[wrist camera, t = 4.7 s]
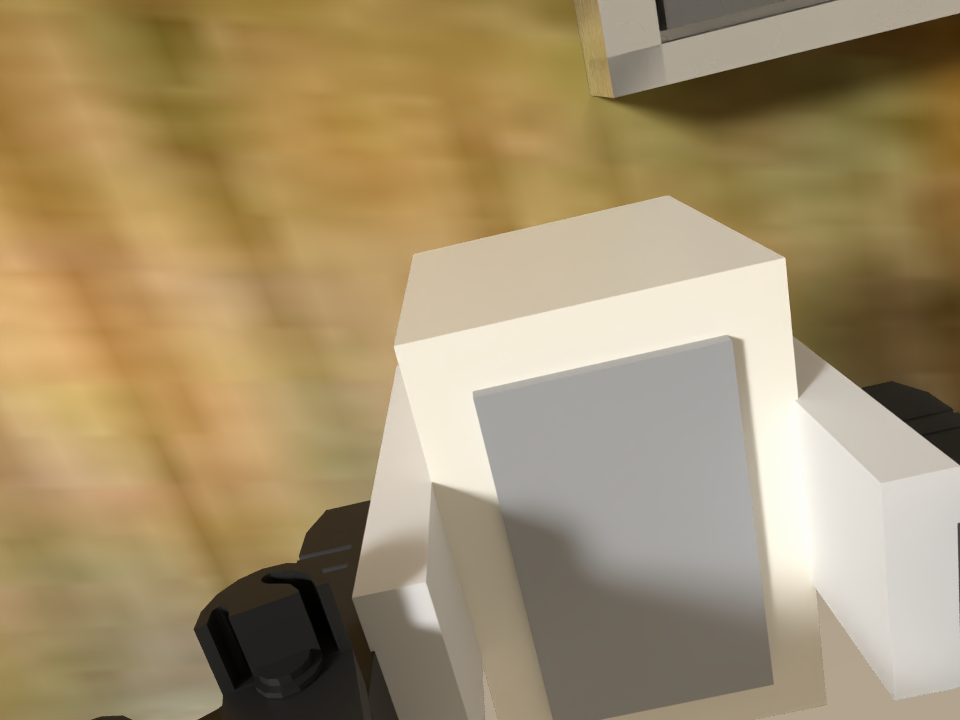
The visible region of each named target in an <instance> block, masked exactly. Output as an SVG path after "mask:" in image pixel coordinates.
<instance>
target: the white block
mask: <svg viewBox="0 0 960 720" xmlns="http://www.w3.org/2000/svg"><path fill="white" fill-rule="evenodd" d="M394 349H395V353H396V356H397V360H398V363H399V367H400V370H401V374H402V378H403V381H404V385H405V388H406V392H407V396H408V399H409V403H410V406H411V410H412V414H413V417H414V421H415V424H416V428H417V431H418V435H419V439H420V442H421V446H422V449H423V453H424V457H425V460H426V464H427V467H428V471H429V474H430V478H431V482H432V485H433V489H434V492H435V496H436V499H437V503H438V506H439V510H440V513H441V517H442V520H443V524H444V527H445V530H446V534H447V537H448V541H449V544H450V548H451V551H452V555H453V558H454V562H455V565H456V569H457V572H458V575H459V579H460V582H461V586H462V589H463V593H464V596H465V600H466V603H467V607H468V610H469V614H470V617H471V620H472V624H473V627H474V631H475V634H476V638H477V641H478V645H479V648H480V652H481V655H482V665H483V668H484V672H485V675H486V679H487V682H488V686H489V689H490V693H491V697H492V700H493V704H494V708H495V711H496V715H497V718H498V720H755V719H760V718H765V717H770V716H775V715H780V714H785V713H789V712H795V711H800V710H805V709H809V708H815V707H820V706H825V705H827V703H826V692H825V682H824V671H823V660H822V649H821V639H820V627H819V617H818V607H817V595H816V588H815V586H814V585H813V575H812V566H811V556H810V546H809V537H808V527H807V518H806V508H805V498H804V489H803V479H802V470H801V460H800V450H799V441H798V431H797V422H796V412H795V402H794V400H795V399H798V390H797V379H796V369H795V358H794V347H793V336H792V326H791V315H790V304H789V293H788V283H787V272H786V261H785V257H783V256H781V255H779V254H777V253H775V252H774V251H772V250H770V249H768V248H766V247H764V246H762V245H760V244H759V243H757V242H755V241H753V240H751V239H749V238H747V237H745V236H744V235H742V234H740V233H738V232H736V231H734V230H732V229H730V228H729V227H727V226H725V225H723V224H721V223H719V222H717V221H715V220H714V219H712V218H710V217H708V216H706V215H704V214H702V213H700V212H699V211H697V210H695V209H693V208H691V207H689V206H687V205H686V204H684V203H682V202H680V201H678V200H676V199H674V198H672V197H671V196H669V195H667V196H663V197H659V198H654V199H650V200H646V201H641V202H637V203H633V204H628V205H624V206H620V207H615V208H611V209H607V210H603V211H598V212H594V213H590V214H585V215H581V216H577V217H572V218H568V219H564V220H559V221H555V222H551V223H546V224H542V225H538V226H533V227H529V228H525V229H520V230H516V231H512V232H507V233H503V234H499V235H494V236H490V237H486V238H481V239H477V240H473V241H468V242H464V243H460V244H455V245H451V246H447V247H442V248H438V249H434V250H429V251H425V252H421V253H416V254H413V259H412V264H411V268H410V273H409V278H408V282H407V287H406V292H405V296H404V301H403V306H402V310H401V315H400V319H399V324H398V329H397V333H396V338H395V343H394Z"/></svg>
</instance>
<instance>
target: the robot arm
mask: <svg viewBox="0 0 960 720" xmlns="http://www.w3.org/2000/svg"><path fill="white" fill-rule="evenodd" d="M793 347H794V358H795V369H796V379H797V390H798V399H795V400H794V402H795V412H796V422H797V431H798V441H799V450H800V460H801V470H802V479H803V489H804V498H805V508H806V518H807V527H808V537H809V546H810V556H811V566H812V575H813V585H814V586H815V588H816V589H817V591H818V592H819V593H820V595H821V596H822V598H823V599H824V601H825V602H826V604H827V605H828V606H829V608H830V609H831V611H832V612H833V614H834V615H835V616H836V618H837V619H838V621H839V622H840V624H841V625H842V626H843V628H844V629H845V631H846V632H847V634H848V635H849V636H850V638H851V639H852V641H853V642H854V643H855V645H856V646H857V648H858V649H859V651H860V652H861V653H862V655H863V656H864V658H865V659H866V661H867V662H868V663H869V665H870V666H871V668H872V669H873V671H874V672H875V673H876V675H877V676H878V678H879V679H880V681H881V682H882V683H883V685H884V686H885V688H886V689H887V691H888V692H889V693H890V695H891V696H892V698H893V699H894V700H901V699H905V698H910V697H915V696H920V695H925V694H930V693H935V692H940V691H945V690H950V689H955V688H960V414H959V413H958V412H957V413H954V412H953V409H952V408H950V407H949V406H947V405H946V404H944V403H943V402H941V401H940V400H939V399H937V398H936V397H934V396H933V395H931V394H930V393H928V392H925V391H922V390H919V389H915V388H912V387H909V386H905V385H902V384H899V383H896V382H892V381H891V382H886V383H882V384H877V385H873V386H868V387H864V388H859V387H858V386H857V385H856V384H854V383H853V382H852V381H850V380H849V379H848V378H847V377H845V376H844V375H843V374H841V373H840V372H839V371H838V370H836V369H835V368H834V367H832V366H831V365H830V364H829V363H827V362H826V361H825V360H823V359H822V358H821V357H819V356H818V355H817V354H816V353H814V352H813V351H812V350H810V349H809V348H808V347H807V346H805V345H804V344H803V343H801V342H800V341H799V340H798V339H796V338H795V337H794V336H793ZM299 559H300V560H299V561H297V563H285V564H281V565H277V566H272V567H268V568H264V569H261V570H259V571H257V572H254V573H252V574H250V575H248V576H246V577H243V578H241V579H239V580H237V581H236V582H234V583H233V584H232V585H230V586H229V587H227V588H226V589H224V590H223V591H221V592H220V593H219V594H217V595H216V596H215V597H214V598H213V599H212V601H211V602H210V603H209V604H208V605H207V606H206V607H205V608H204V609H203V610H202V611H201V613H200V616H199V618H198V620H197V623H196V625H195V627H194V631H195V633H196V636H197V638H198V640H199V642H200V645H201V647H202V649H203V651H204V654H205V656H206V658H207V660H208V663H209V665H210V667H211V669H212V672H213V674H214V676H215V678H216V681H217V683H218V685H219V687H220V690H221V692H222V694H223V704H222V706H221V707H220V708H218V709H217V710H215V711H213V712H211V713H209V714H208V715H206V716H204V717H202V718H200V719H198V720H485V710H484V690H483V669H482V655H481V652H480V648H479V645H478V641H477V638H476V634H475V631H474V627H473V624H472V620H471V617H470V614H469V610H468V607H467V603H466V600H465V596H464V593H463V589H462V586H461V582H460V579H459V575H458V572H457V569H456V565H455V562H454V558H453V555H452V551H451V548H450V544H449V541H448V537H447V534H446V530H445V527H444V524H443V520H442V517H441V513H440V510H439V506H438V503H437V499H436V496H435V492H434V489H433V485H432V482H431V478H430V474H429V471H428V467H427V464H426V460H425V457H424V453H423V449H422V446H421V442H420V439H419V435H418V431H417V428H416V424H415V421H414V417H413V414H412V410H411V406H410V403H409V399H408V396H407V392H406V388H405V385H404V381H403V378H402V374H401V370H400V367H399V365H398V366H397V368H396V373H395V378H394V383H393V388H392V393H391V399H390V404H389V409H388V414H387V419H386V424H385V430H384V435H383V440H382V445H381V450H380V455H379V461H378V466H377V471H376V476H375V481H374V486H373V492H372V497H371V500H370V501H365V502H361V503H356V504H352V505H347V506H343V507H339V508H334V509H330V510H326V511H325V512H324V514H323V515H322V516H321V517H320V518H319V519H318V520H317V522H316V523H315V524H314V525H313V526H312V527H311V528H310V529H309V531H308V532H307V533H306V536H305V539H304V542H303V545H302V548H301V551H300V554H299ZM92 720H131V719H129V718H127V717H125V716H103V717H98V718H95V719H92Z"/></svg>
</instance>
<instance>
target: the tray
mask: <svg viewBox="0 0 960 720" xmlns="http://www.w3.org/2000/svg"><path fill="white" fill-rule="evenodd" d="M574 5H575V10H576V16H577V22H578V27H579V33H580V39H581V44H582V50H583V56H584V61H585V67H586V73H587V78H588V84H589V90H590V95H593V96H601V97H610V98H616V97H620V96H624V95H628V94H632V93H636V92H640V91H644V90H649V89H653V88H657V87H661V86H665V85H669V84H673V83H677V82H681V81H685V80H689V79H693V78H697V77H701V76H706V75H710V74H714V73H718V72H722V71H726V70H730V69H734V68H738V67H742V66H746V65H750V64H754V63H758V62H763V61H767V60H771V59H775V58H779V57H783V56H787V55H791V54H795V53H799V52H803V51H807V50H811V49H815V48H820V47H824V46H828V45H832V44H836V43H840V42H844V41H848V40H852V39H856V38H860V37H864V36H868V35H872V34H877V33H881V32H885V31H889V30H893V29H897V28H901V27H905V26H909V25H913V24H917V23H921V22H925V21H929V20H933V19H938V18H942V17H946V16H950V15H954V14H958V13H960V0H574Z"/></svg>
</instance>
